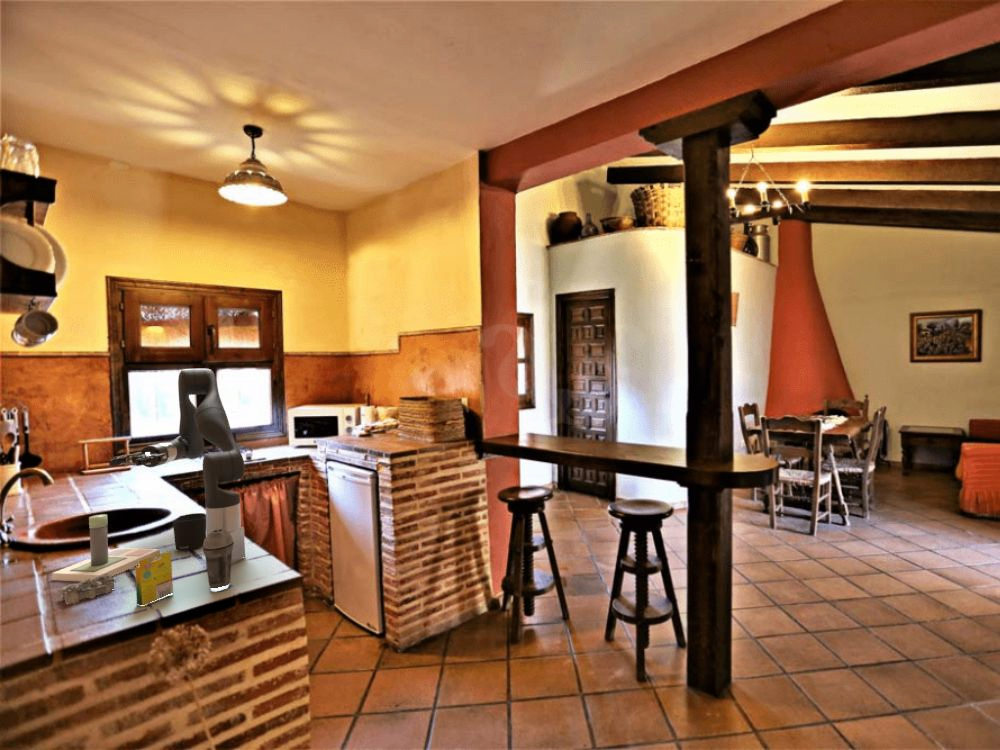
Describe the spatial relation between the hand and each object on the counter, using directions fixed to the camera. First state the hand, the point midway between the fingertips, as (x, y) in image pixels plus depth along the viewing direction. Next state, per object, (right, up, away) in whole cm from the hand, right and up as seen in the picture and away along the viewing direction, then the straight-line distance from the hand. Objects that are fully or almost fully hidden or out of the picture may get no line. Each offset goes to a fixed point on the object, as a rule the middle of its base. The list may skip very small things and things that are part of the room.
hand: (123, 463), depth 158 cm
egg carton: (+11, -30, -27) cm, 42 cm away
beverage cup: (+45, -29, -26) cm, 59 cm away
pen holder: (+17, -30, +8) cm, 35 cm away
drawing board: (+2, -30, -8) cm, 31 cm away
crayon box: (+32, -30, -32) cm, 54 cm away
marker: (+1, -28, -11) cm, 30 cm away
